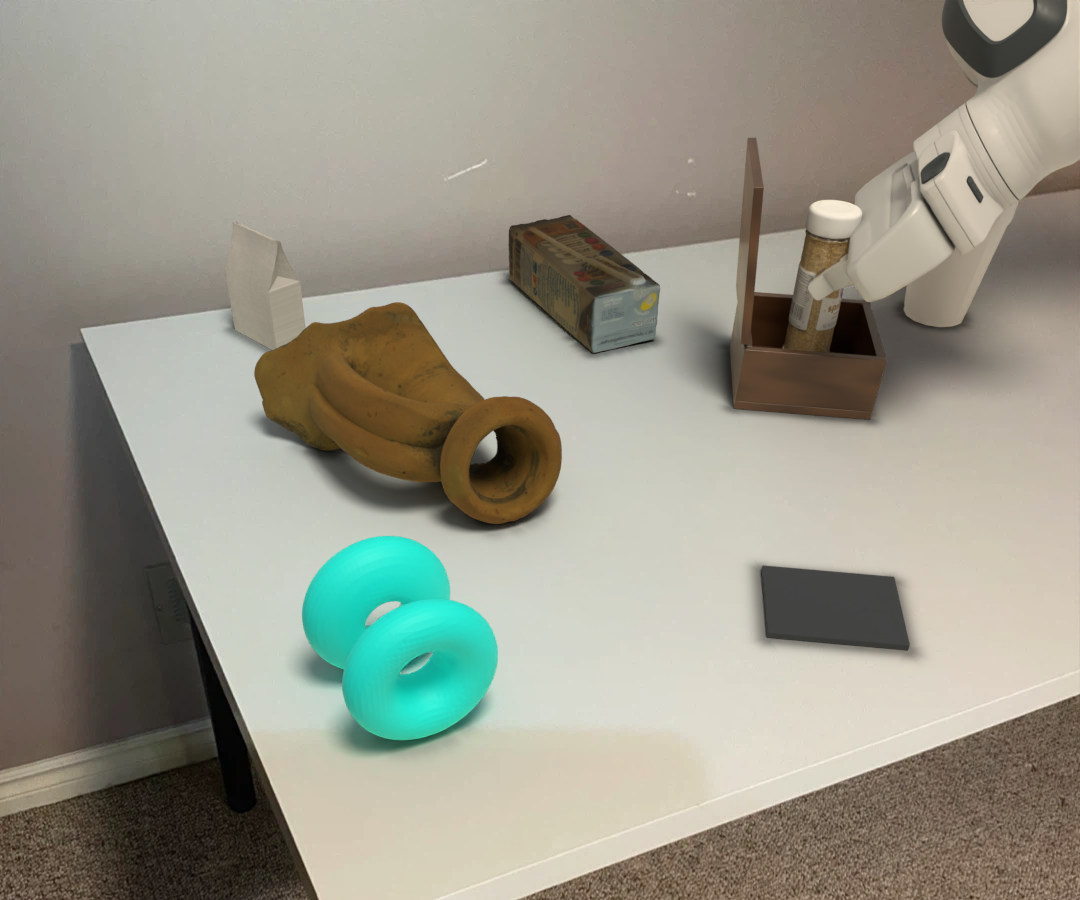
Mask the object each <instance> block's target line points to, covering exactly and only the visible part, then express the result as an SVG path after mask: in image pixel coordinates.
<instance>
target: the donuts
mask: <svg viewBox="0 0 1080 900" xmlns="http://www.w3.org/2000/svg"><path fill="white" fill-rule="evenodd" d="M391 602H398V603H400V604H399V606H397V607H396V608H394V609H392V610H390V611H388V612H387V613H384V614H383V615H382V616H380V617H379V618H377V619H376V620H375V621H374V622H373V623H371V624H370V625H366V624H367V620H368V618H369V617H370V615H371V614H372V613H373V612H374V611H375V610H376V609H377V608H378V607H380V606H382V605H384V604H387V603H391ZM301 621H302V628H303V631H304V635H305V637H306V639H307V642H308V644H309V645H310V647H311V648H312V650H313V651H314V652H315V653H316V654H317V655H318V656H319V657H320V658H321V659H322V660H324V661H325V662H327V663H328V664H330V665H332V666H334V667H336V668H338V669H341V670H343V672H342V681H341V689H342V690H341V691H342V696H343V700H344V703H345V706H346V709H347V711H348V713H349V714H350V716H351V717H352V718H353V720H354V721H355V722H356V723H357V725H359V726H360V727H362V728H363V729H364V730H366V732H369V733H371V734H373V735H374V736H377V737H380V738H383V739H386V740H392V741H411V740H413V741H414V740H418V739H423V738H426V737H430V736H432V735H436V734H439V733H441V732H443V731H445V730H447V729H449V728H451V727H452V726H454V725H455V724H457V723H458V722H460V721H461V720H462V719H464V718H465V717H466V716H467V715H469V714H470V713H471V712H472V711H473V710H474V709H475V708H476V707H477V706H478V704H479V703H480V702H481V701H482V699H483V698H484V697H485V695H486V693H487V692H488V690H489V688H490V687H491V685H492V683H493V680H494V678H495V675H496V672H497V668H498V661H499V648H498V647H499V646H498V642H497V639H496V635H495V633H494V630H493V628H492V626H491V625H490V624H489V622H488V621H487V619H486V618H485V617H484V616H483V615H482V614H481V613H480V612H478V611H477V610H475V609H474V608H472V607H471V606H469V605H467V604H466V603H462V602H459V601H456V600H452V599H451V583H450V579H449V576H448V573H447V570H446V568H445V566H444V564H443V562H442V561H441V560H440V558H439V557H438V556H437V555H436V553H435V552H433V551H432V550H431V549H430V548H429V547H428V546H425V545H423V544H422V543H421V542H419V541H417V540H414V539H411V538H408V537H404V536H397V535H378V536H372V537H368V538H364V539H361V540H359V541H356V542H354V543H352V544H350V545H348V546H346V547H344V548H342V549H341V550H339V551H338V552H337V553H335V554H333V555H332V556H331V557H330V558H329V559H327V560H326V562H324V564H322V566H321V567H320V568H319V569H318V570H317V572H316V573H315V574H314V576H313V577H312V580H311V581H310V583H309V585H308V587H307V589H306V592H305V595H304V599H303V603H302V609H301ZM431 652H432V654H431V656H430V658H429V660H428V661H426V663H425V664H424V665H423V666H421V667H420V668H418V669H417V670H415V671H413V672H409V673H403V674H402V673H401V671H402V670H403V669H404V668H405V667H406V666H407V665H409V663H410V662H411V661H413V660H414V659H416V658H417V657H420V656H422V655H424V654H427V653H431Z"/></svg>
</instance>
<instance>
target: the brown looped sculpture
mask: <svg viewBox="0 0 1080 900" xmlns="http://www.w3.org/2000/svg"><path fill="white" fill-rule="evenodd" d="M253 372H254V373H253V375H254V376H253V377H254V380H255V383H256V385H257V388H258V391H259V395H260V396H261V397H260V398H261V399H262V401H261V404H262V409H263V411H264V415H265V416H266V417H267V419H269V420H270V421H272V422H273V423H275V424H277V425H280V426H281V427H282V428H283V429H285V430H287V431H289V432H291V433H294V434H296V435H297V436H298V438H300V439H301V441H303V442H304V443H305V444H307V445H308V446H311V447H312V448H314V449H317V450H319V451H325V452H329V451H331V452H332V451H336V450H337V451H338V450H340V449H341V450H342V451H343V452H345V453H346V454H347V455H348V456H349V457H351V458H352V459H353V460H355V461H356V462H358V463H359V464H361V465H362V466H364V467H366V468H367V469H369V470H371V471H374V472H376V473H379V474H381V475H385V476H388V477H391V478H395V479H399V480H402V481H408V482H414V483H436V482H437V483H439V482H441V485H442V489H443V491H444V494H445V495H446V497H447V498H448V500H449V501H450V502H451V503H452V504H453V505H454V506H456V507H457V508H458V509H459V510H460V511H461V512H463V513H464V514H466V515H468V516H469V517H470V518H472V519H475V520H476V521H479V522H483V523H486V524H490V525H491V524H492V525H501V524H506V523H508V522H515V521H518V520H520V519H523V518H525V517H527V516H529V514H531V513H532V512H533V511H535V510H536V509H538V508H539V507H540V506H541V505H543V504H544V502H545V501H546V500H547V499H548V498H549V496H550V495H551V494H552V492H553V491H554V489H555V487H556V485H557V482H558V480H559V477H560V474H561V469H562V461H563V448H562V447H563V446H562V440H561V436H560V435H561V434H560V433H559V432H558V430H557V428H556V425H555V423H554V421H553V420H552V418H551V417H550V416H549V414H548V413H547V412H546V411H545V410H544V409H543V408H542V407H540V406H539V405H537V404H535V403H534V402H533V401H531V400H529V399H526V398H525V397H522V396H521V397H520V396H507V395H506V396H505V395H504V396H491V397H488V398H484V397H483V395H482V394H481V393H480V392H478V391H477V390H476V389H475V387H474V386H472V384H471V383H470V381H468V380H467V379H466V378H465V377H464V376H463V375H461V374H460V373H459V371H458V370H456V368H454V366H453V365H452V364H451V363H450V361H449V360H448V358H447V357H446V355H445V354H444V352H443V350H442V349H441V348H440V346H439V344H438V343H437V342H436V341H435V338H434V337H433V335H432V334H431V333H430V332H429V330H428V329H427V327H426V325H425V324H424V323H423V321H422V320H421V319H420V317H419V315H418V313H417V312H416V311H415V310H414V309H413V308H412V307H411V306H409V304H406V303H404V302H401V301H396V302H391V303H388V304H385V305H381V306H379V305H378V306H371V307H369V308H367V309H365V310H364V311H362V312H360V313H359V314H358V315H355V316H354V317H351V318H348V319H345V320H341V321H337V322H330V323H329V322H327V323H325V322H318V321H314V322H311V323H310V324H309V325H308V326H306V328H305V329H304V330H303V331H302V332H301V333H300V334H299V335H298V336H297V337H296V338H294V339H293V340H292V341H291V342H289V343H287V344H285V345H282V346H280V347H278V348H276V349H274V350H271V349H270V350H268V351H265V352H264V353H263V354H262V355H261V356H260V357H259V359H258V360H257V361H256V364H255V366H254V371H253ZM492 432H493V433H494V434H495V439H496V453H495V455H494V456H493V457H492V458H491V459H490V460H488V461H486V462H480V463H477V462H475V463H471V462H472V459H473V456H474V454H475V452H476V450H477V448H478V446H480V444H481V442H482V441H483V440H484V439H485V438H486V437H487V436H489V435H490V434H491V433H492Z"/></svg>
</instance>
